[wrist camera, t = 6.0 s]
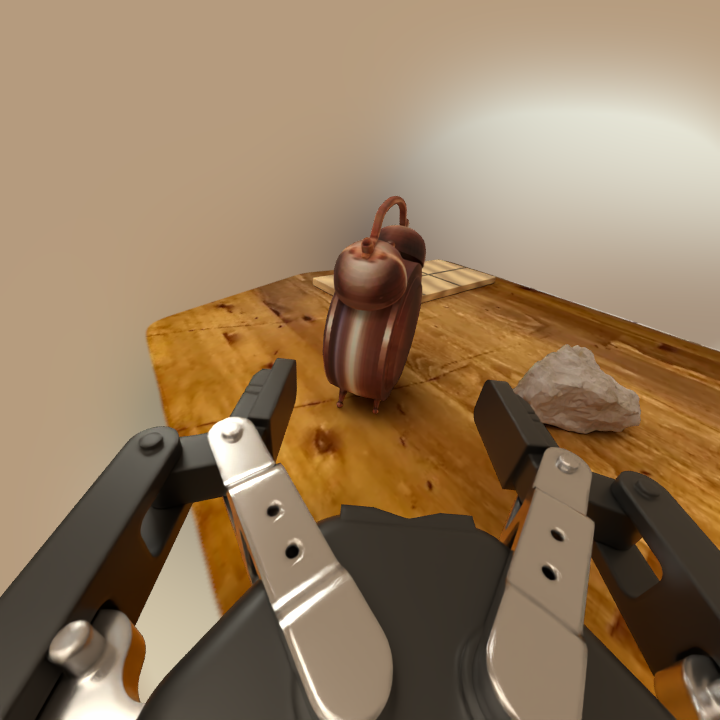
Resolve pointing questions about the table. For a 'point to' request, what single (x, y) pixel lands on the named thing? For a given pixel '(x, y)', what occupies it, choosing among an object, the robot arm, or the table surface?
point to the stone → (578, 393)
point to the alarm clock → (374, 308)
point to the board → (432, 280)
